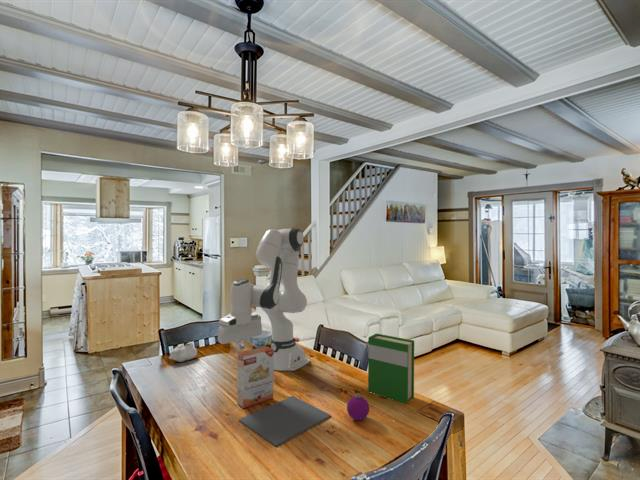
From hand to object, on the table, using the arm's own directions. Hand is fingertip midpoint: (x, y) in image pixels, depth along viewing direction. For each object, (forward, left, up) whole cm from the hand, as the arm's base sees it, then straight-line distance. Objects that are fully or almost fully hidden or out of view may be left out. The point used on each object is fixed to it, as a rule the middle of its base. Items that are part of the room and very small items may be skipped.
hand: (240, 349), depth 148 cm
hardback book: (-44, +47, -19) cm, 67 cm away
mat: (0, +30, -19) cm, 35 cm away
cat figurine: (+1, -55, -19) cm, 58 cm away
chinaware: (-42, -45, -19) cm, 64 cm away
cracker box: (0, +11, -19) cm, 22 cm away
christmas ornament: (-19, +49, -19) cm, 56 cm away
